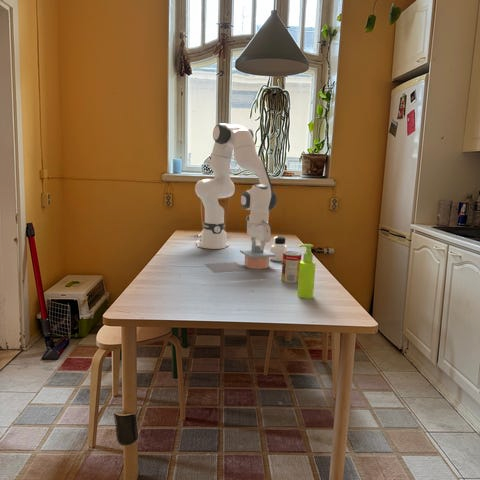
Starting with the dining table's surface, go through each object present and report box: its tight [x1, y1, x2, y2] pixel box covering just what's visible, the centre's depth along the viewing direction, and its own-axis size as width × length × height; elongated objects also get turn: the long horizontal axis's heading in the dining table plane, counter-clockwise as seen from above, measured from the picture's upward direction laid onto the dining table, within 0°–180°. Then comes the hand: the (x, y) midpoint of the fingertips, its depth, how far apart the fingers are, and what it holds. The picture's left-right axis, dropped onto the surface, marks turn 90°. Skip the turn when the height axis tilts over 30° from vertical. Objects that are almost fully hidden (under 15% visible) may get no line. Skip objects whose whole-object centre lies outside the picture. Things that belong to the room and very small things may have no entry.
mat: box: [204, 261, 248, 274], centre depth 190 cm, size 16×16×1 cm
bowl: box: [244, 255, 270, 270], centre depth 195 cm, size 11×11×6 cm
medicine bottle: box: [269, 235, 288, 262], centre depth 211 cm, size 7×7×12 cm
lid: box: [239, 244, 276, 258], centre depth 194 cm, size 13×13×4 cm
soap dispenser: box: [296, 243, 317, 299], centre depth 153 cm, size 6×7×20 cm
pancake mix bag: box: [200, 197, 230, 233], centre depth 272 cm, size 7×19×28 cm, turn 94°
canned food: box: [280, 250, 303, 284], centre depth 173 cm, size 8×8×12 cm
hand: (257, 247), depth 194 cm, fingers open, 8 cm apart
